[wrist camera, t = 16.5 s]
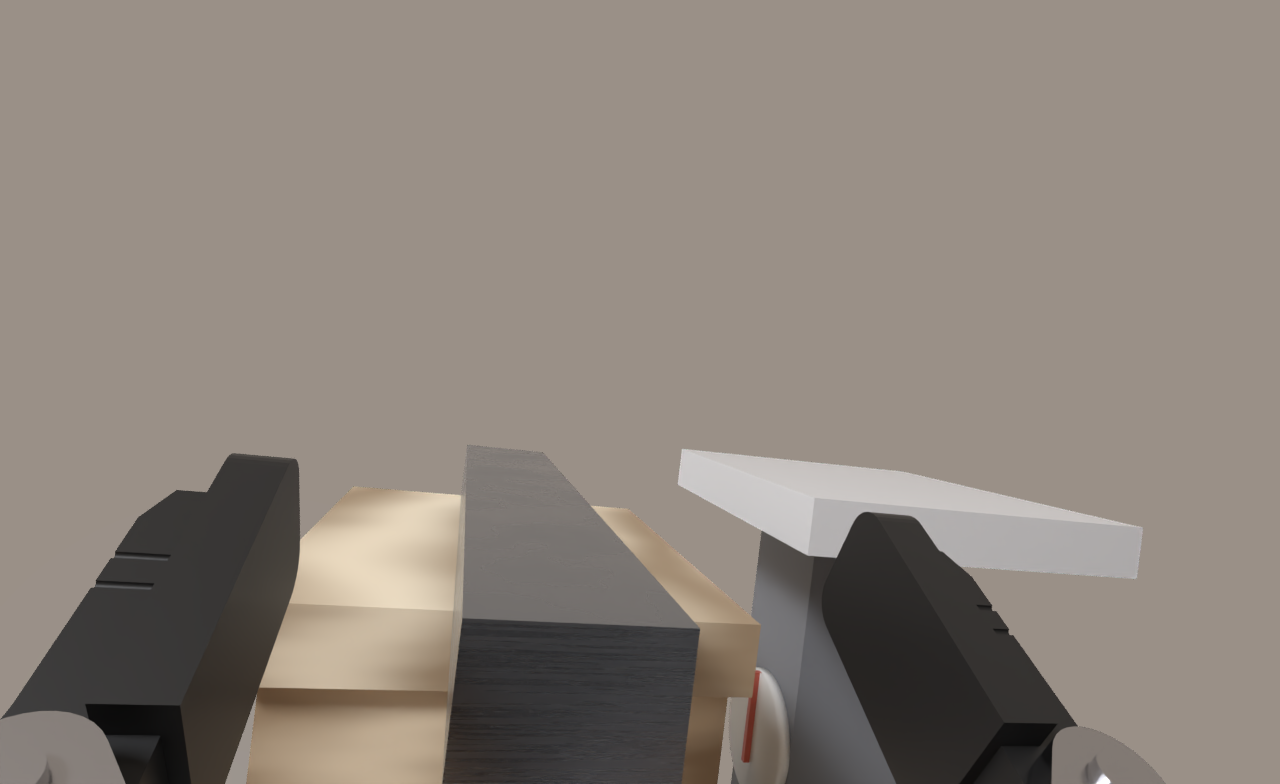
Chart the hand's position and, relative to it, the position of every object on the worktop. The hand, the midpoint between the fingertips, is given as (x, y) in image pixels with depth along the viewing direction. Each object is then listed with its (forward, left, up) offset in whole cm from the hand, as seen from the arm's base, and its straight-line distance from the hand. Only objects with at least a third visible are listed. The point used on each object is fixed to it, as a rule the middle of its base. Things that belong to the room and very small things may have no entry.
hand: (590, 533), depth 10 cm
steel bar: (0, -12, -4) cm, 13 cm away
